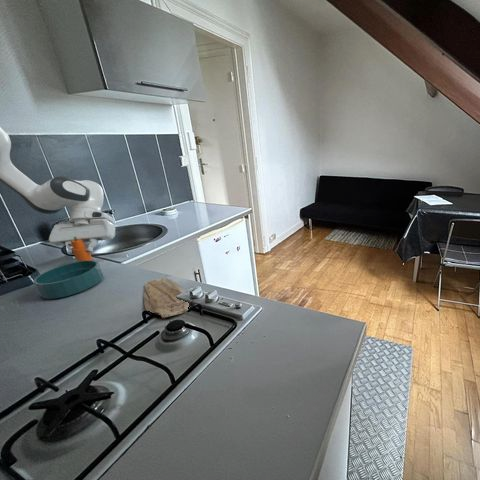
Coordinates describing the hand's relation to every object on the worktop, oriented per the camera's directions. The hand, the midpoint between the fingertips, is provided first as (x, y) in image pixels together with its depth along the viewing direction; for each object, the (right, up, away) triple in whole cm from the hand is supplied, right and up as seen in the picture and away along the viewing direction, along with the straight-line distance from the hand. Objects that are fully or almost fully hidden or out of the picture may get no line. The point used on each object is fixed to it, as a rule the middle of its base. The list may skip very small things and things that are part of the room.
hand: (80, 252), depth 96 cm
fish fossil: (+44, -12, -21) cm, 50 cm away
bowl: (+10, -10, -12) cm, 19 cm away
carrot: (0, -5, +3) cm, 5 cm away
